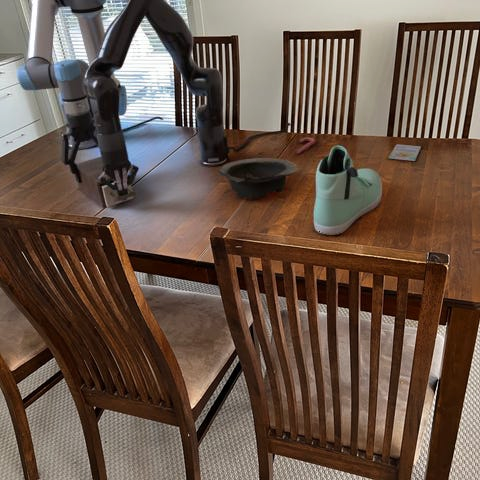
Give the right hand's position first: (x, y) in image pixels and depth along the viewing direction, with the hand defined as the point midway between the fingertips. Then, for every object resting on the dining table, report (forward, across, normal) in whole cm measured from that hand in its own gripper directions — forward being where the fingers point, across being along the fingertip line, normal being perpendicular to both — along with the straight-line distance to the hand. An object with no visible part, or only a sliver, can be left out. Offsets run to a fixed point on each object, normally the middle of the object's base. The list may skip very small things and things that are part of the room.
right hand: (124, 199), depth 147 cm
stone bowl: (+3, +38, -18) cm, 42 cm away
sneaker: (+3, +48, -47) cm, 68 cm away
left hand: (0, 0, +24) cm, 24 cm away
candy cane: (+4, +73, -2) cm, 73 cm away
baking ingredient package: (+3, +94, -33) cm, 99 cm away
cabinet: (+4, 0, +16) cm, 17 cm away
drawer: (+3, 0, +10) cm, 11 cm away
